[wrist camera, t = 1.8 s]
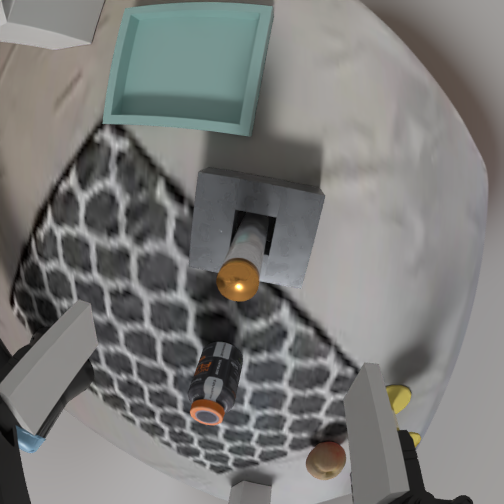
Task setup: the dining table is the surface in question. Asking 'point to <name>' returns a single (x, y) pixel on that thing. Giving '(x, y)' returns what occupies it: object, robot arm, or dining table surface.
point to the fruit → (326, 460)
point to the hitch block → (260, 202)
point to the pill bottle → (215, 383)
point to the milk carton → (49, 22)
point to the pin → (244, 259)
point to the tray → (189, 66)
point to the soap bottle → (250, 493)
